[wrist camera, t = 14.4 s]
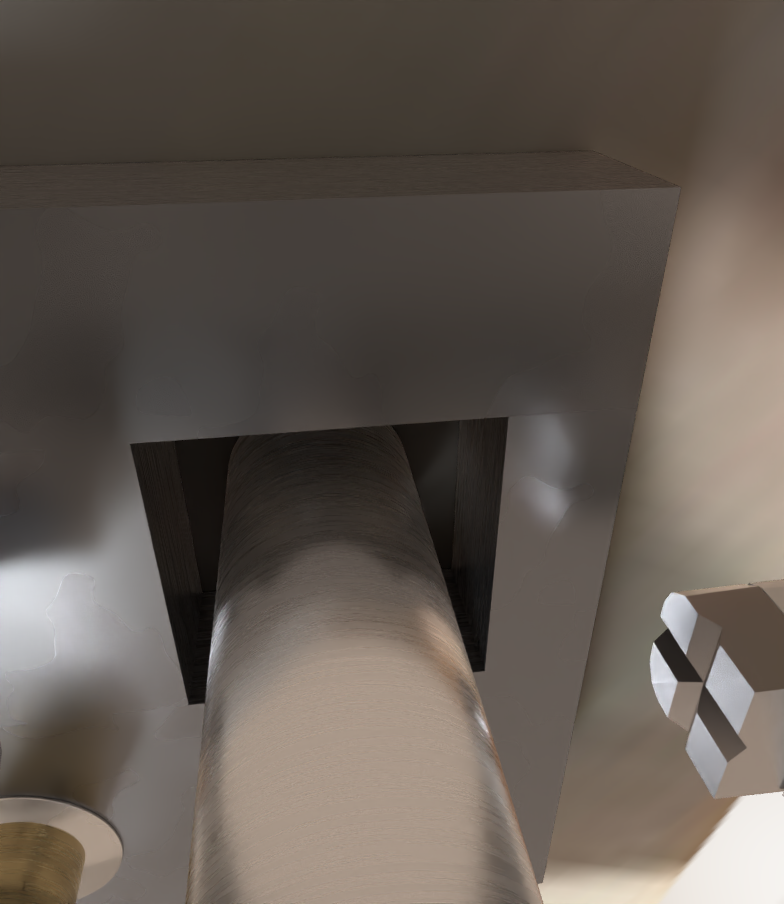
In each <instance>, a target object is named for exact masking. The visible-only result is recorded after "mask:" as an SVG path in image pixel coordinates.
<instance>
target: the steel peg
mask: <svg viewBox="0 0 784 904" xmlns="http://www.w3.org/2000/svg"><path fill="white" fill-rule="evenodd" d="M185 904H543V901H542V898H541V894H540V891H539V888H538V884H537V881H536V878H535V875H534V871H533V868H532V865H531V862H530V858H529V855H528V852H527V848H526V845H525V842H524V839H523V835H522V832H521V829H520V826H519V822H518V819H517V816H516V813H515V809H514V806H513V803H512V799H511V796H510V793H509V790H508V786H507V783H506V780H505V777H504V773H503V770H502V767H501V763H500V760H499V757H498V754H497V750H496V747H495V744H494V741H493V737H492V734H491V731H490V728H489V724H488V721H487V718H486V714H485V711H484V708H483V705H482V701H481V698H480V695H479V692H478V688H477V685H476V682H475V679H474V675H473V672H472V669H471V665H470V662H469V659H468V656H467V652H466V649H465V646H464V643H463V639H462V636H461V633H460V629H459V626H458V623H457V620H456V616H455V613H454V610H453V607H452V603H451V600H450V597H449V594H448V590H447V587H446V584H445V580H444V577H443V574H442V571H441V567H440V564H439V561H438V558H437V554H436V551H435V548H434V544H433V541H432V538H431V535H430V531H429V528H428V525H427V522H426V518H425V515H424V512H423V509H422V505H421V502H420V499H419V495H418V492H417V489H416V486H415V482H414V479H413V476H412V473H411V469H410V466H409V463H408V459H407V456H406V453H405V450H404V447H403V445H402V442H401V440H400V438H399V436H398V435H397V433H396V431H395V430H394V429H393V427H392V426H391V425H385V426H371V427H357V428H343V429H329V430H315V431H301V432H287V433H273V434H259V435H245V436H240V437H239V438H238V440H237V441H236V443H235V445H234V448H233V450H232V452H231V456H230V460H229V465H228V475H227V486H226V496H225V506H224V516H223V526H222V536H221V546H220V556H219V567H218V577H217V587H216V597H215V607H214V617H213V627H212V638H211V648H210V658H209V668H208V678H207V688H206V698H205V709H204V719H203V729H202V739H201V749H200V759H199V769H198V780H197V790H196V800H195V810H194V820H193V830H192V840H191V850H190V861H189V871H188V881H187V891H186V901H185Z"/></svg>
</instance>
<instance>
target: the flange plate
mask: <svg viewBox="0 0 784 904" xmlns="http://www.w3.org/2000/svg"><path fill="white" fill-rule="evenodd" d="M680 191H681V187H679V186H677V185H675V184H672V183H670V182H667V181H665V180H662V179H660V178H658V177H655V176H653V175H650V174H648V173H645V172H643V171H641V170H638V169H636V168H633V167H631V166H629V165H626V164H624V163H621V162H619V161H616V160H614V159H612V158H609V157H607V156H604V155H602V154H600V153H597V152H595V151H577V152H538V153H499V154H461V155H422V156H383V157H345V158H306V159H267V160H229V161H190V162H151V163H113V164H74V165H36V166H0V741H1V748H2V756H1V766H0V904H185V901H186V891H187V881H188V871H189V861H190V850H191V840H192V830H193V820H194V810H195V800H196V790H197V780H198V769H199V759H200V749H201V739H202V729H203V719H204V709H205V698H206V688H207V678H208V668H209V658H210V648H211V638H212V627H213V617H214V607H215V597H216V591H215V592H204V593H202V588H201V582H200V577H199V572H198V566H197V561H196V556H195V550H194V545H193V540H192V534H191V529H190V523H189V518H188V513H187V507H186V502H185V497H184V491H183V486H182V481H181V475H180V470H179V465H178V459H177V454H176V448H175V443H174V441H175V440H189V439H203V438H217V437H231V436H245V435H259V434H273V433H287V432H301V431H315V430H329V429H343V428H357V427H371V426H385V425H399V424H413V423H427V422H441V421H455V420H459V437H458V456H457V475H456V493H455V512H454V531H453V549H452V568H451V569H442V570H441V571H442V574H443V577H444V580H445V584H446V587H447V590H448V594H449V597H450V600H451V603H452V607H453V610H454V613H455V616H456V620H457V623H458V626H459V629H460V633H461V636H462V639H463V643H464V646H465V649H466V652H467V656H468V659H469V662H470V665H471V669H472V672H473V675H474V679H475V682H476V685H477V688H478V692H479V695H480V698H481V701H482V705H483V708H484V711H485V714H486V718H487V721H488V724H489V728H490V731H491V734H492V737H493V741H494V744H495V747H496V750H497V754H498V757H499V760H500V763H501V767H502V770H503V773H504V777H505V780H506V783H507V786H508V790H509V793H510V796H511V799H512V803H513V806H514V809H515V813H516V816H517V819H518V822H519V826H520V829H521V832H522V835H523V839H524V842H525V845H526V848H527V852H528V855H529V858H530V862H531V865H532V868H533V871H534V875H535V878H536V881H537V884H539V883H543V878H544V873H545V868H546V863H547V858H548V853H549V848H550V843H551V838H552V833H553V828H554V823H555V818H556V813H557V808H558V803H559V798H560V793H561V788H562V783H563V778H564V773H565V768H566V763H567V758H568V753H569V748H570V743H571V738H572V733H573V728H574V723H575V717H576V712H577V707H578V702H579V697H580V692H581V687H582V682H583V677H584V672H585V667H586V662H587V657H588V652H589V647H590V642H591V637H592V632H593V627H594V622H595V617H596V612H597V607H598V602H599V597H600V592H601V587H602V582H603V577H604V572H605V567H606V562H607V557H608V552H609V547H610V542H611V537H612V532H613V527H614V522H615V517H616V512H617V507H618V502H619V497H620V492H621V487H622V482H623V477H624V472H625V467H626V462H627V457H628V452H629V446H630V441H631V436H632V431H633V426H634V421H635V416H636V411H637V406H638V401H639V396H640V391H641V386H642V381H643V376H644V371H645V366H646V361H647V356H648V351H649V346H650V341H651V336H652V331H653V326H654V321H655V316H656V311H657V306H658V301H659V296H660V291H661V286H662V281H663V276H664V271H665V266H666V261H667V256H668V251H669V246H670V241H671V236H672V231H673V226H674V221H675V216H676V211H677V206H678V201H679V196H680Z"/></svg>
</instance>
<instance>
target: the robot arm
mask: <svg viewBox="0 0 784 904" xmlns="http://www.w3.org/2000/svg"><path fill="white" fill-rule="evenodd" d="M661 618H662V619H663V621H664V622H665V624H666V625H667V627H668V629H667V630H666V631H665V632H664V633H662V634H661V635H660V636H659V637H658V638H657V639H656V640H655V641H654V643H653V647H652V652H651V657H650V670H651V679H652V685H653V688H654V691H655V693H656V696H657V699H658V701H659V703H660V705H661V707H662V709H663V710H664V712H665V714H666V716H667V718H669V719H670V720H672V721H673V722H675V723H676V724H678V725H679V726H681V727H682V728H684V729H685V730H687V731H688V736H687V742H686V747H685V750H686V751H687V753H688V755H689V757H690V758H691V760H692V762H693V764H694V765H695V767H696V769H697V770H698V772H699V774H700V776H701V777H702V779H703V781H704V783H705V784H706V786H707V788H708V790H709V791H710V793H711V795H712V797H713V798H714V799H719V798H728V797H737V796H746V795H754V794H763V793H772V792H780V791H784V579H782V580H773V581H764V582H756V583H749V584H739V585H730V586H721V587H713V588H704V589H696V590H687V591H678V592H672V593H671V594H670V595H669V596H668V598H667V599H666V600H665V602H664V605H663V609H662V612H661ZM1 756H2V748H1V741H0V766H1ZM783 796H784V793H783Z"/></svg>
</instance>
